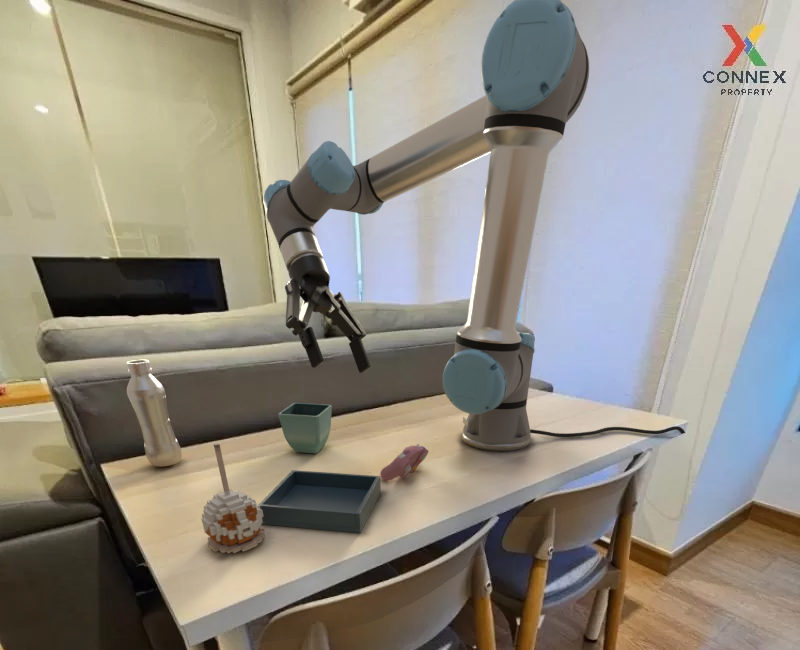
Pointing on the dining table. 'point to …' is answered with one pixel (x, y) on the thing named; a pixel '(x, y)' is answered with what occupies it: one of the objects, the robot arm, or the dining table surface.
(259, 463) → the dining table surface
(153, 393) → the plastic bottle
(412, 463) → the pink elongated piece
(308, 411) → the flower pot
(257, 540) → the decorative ornament
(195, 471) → the dining table surface
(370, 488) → the tray
